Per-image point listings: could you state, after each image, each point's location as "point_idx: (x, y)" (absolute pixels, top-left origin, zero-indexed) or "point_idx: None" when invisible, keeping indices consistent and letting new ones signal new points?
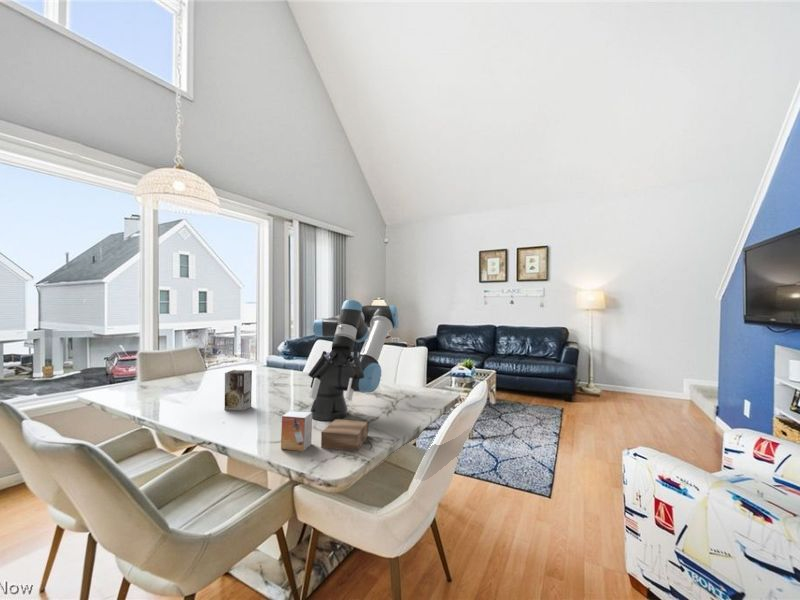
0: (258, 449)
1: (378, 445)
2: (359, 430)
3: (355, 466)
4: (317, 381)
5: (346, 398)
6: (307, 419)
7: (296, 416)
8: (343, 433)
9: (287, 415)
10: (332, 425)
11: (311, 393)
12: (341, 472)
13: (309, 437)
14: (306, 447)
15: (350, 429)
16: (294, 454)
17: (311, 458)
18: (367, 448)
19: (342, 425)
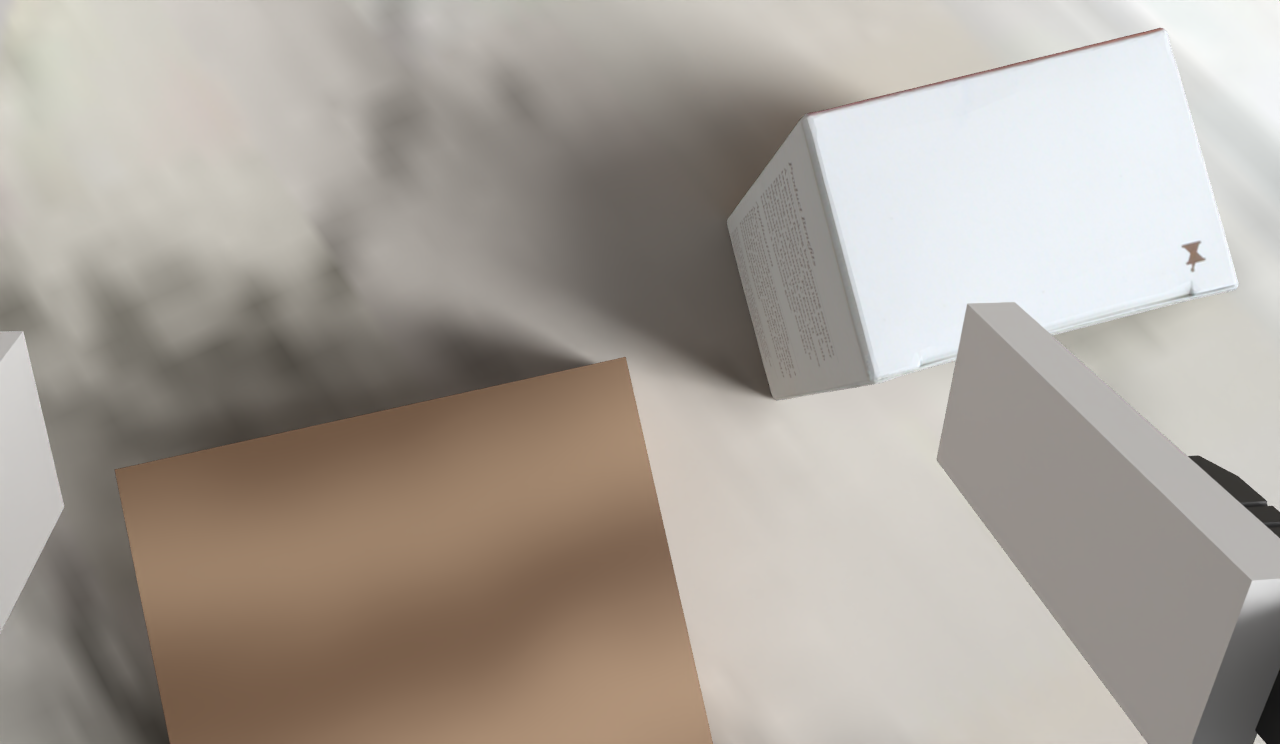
0: (1179, 63)
1: (20, 715)
2: (168, 626)
3: (25, 159)
4: (1171, 617)
5: (20, 361)
6: (807, 209)
7: (956, 100)
8: (321, 438)
9: (1112, 78)
10: (628, 617)
11: (1019, 337)
12: (96, 3)
13: (773, 331)
14: (739, 269)
15: (306, 599)
16: (766, 122)
17: (548, 121)
18: (108, 583)
19: (497, 681)
